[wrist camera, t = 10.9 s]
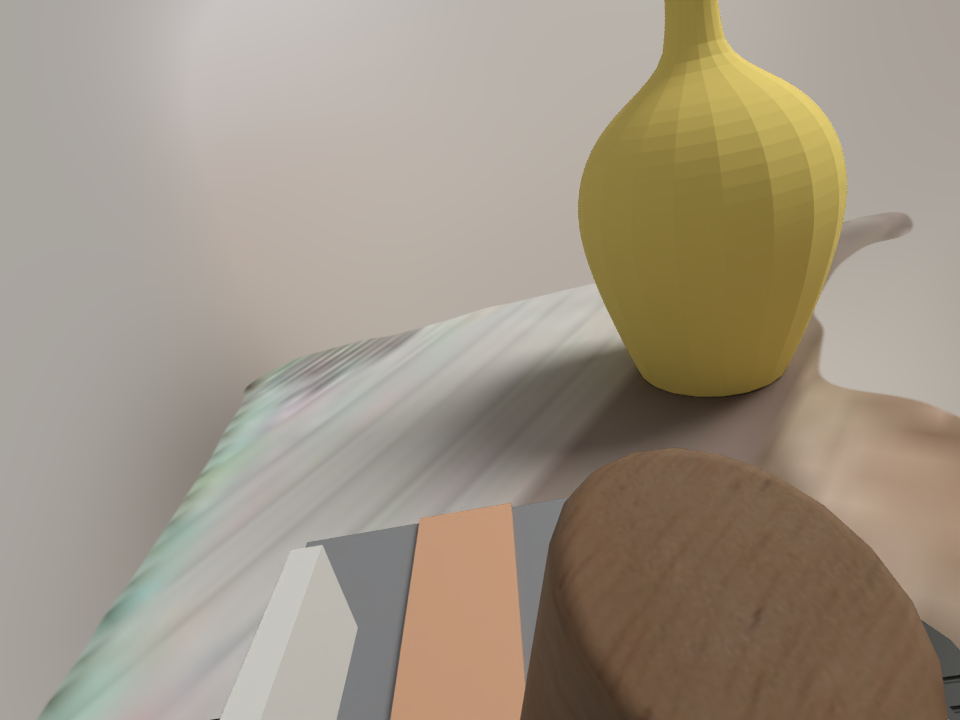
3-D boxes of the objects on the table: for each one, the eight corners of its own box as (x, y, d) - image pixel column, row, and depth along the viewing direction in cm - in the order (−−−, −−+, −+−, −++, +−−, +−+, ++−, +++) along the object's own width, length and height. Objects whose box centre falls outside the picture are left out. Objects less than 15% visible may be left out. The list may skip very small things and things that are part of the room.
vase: (561, 367, 46) (491, -30, 35) (709, 304, 51) (691, -62, 40) (710, 452, 33) (675, -159, 21) (894, 355, 37) (946, -184, 26)
